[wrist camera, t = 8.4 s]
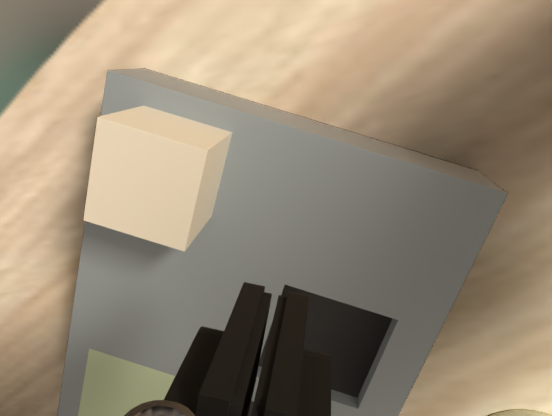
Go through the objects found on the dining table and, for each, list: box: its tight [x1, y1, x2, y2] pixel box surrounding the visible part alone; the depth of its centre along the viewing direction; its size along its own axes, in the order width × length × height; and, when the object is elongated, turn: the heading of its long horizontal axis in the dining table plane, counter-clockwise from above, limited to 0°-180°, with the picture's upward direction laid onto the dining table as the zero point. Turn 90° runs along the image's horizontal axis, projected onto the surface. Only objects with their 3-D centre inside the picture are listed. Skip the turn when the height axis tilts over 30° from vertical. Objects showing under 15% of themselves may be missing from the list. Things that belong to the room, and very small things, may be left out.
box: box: [57, 68, 508, 416], centre depth 30 cm, size 26×22×5 cm
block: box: [83, 106, 232, 252], centre depth 22 cm, size 5×5×5 cm
